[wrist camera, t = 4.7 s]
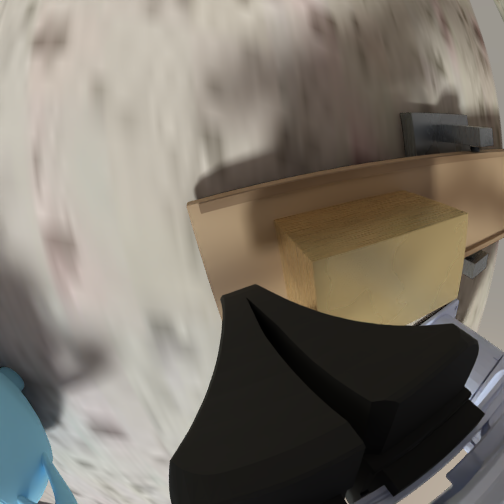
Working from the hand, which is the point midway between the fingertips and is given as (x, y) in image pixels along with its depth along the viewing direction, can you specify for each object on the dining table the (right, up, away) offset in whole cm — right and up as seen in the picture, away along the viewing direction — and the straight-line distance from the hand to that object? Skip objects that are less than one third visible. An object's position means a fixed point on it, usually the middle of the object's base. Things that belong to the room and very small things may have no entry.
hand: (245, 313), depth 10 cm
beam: (+16, +6, +4) cm, 17 cm away
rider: (+5, +3, +3) cm, 6 cm away
